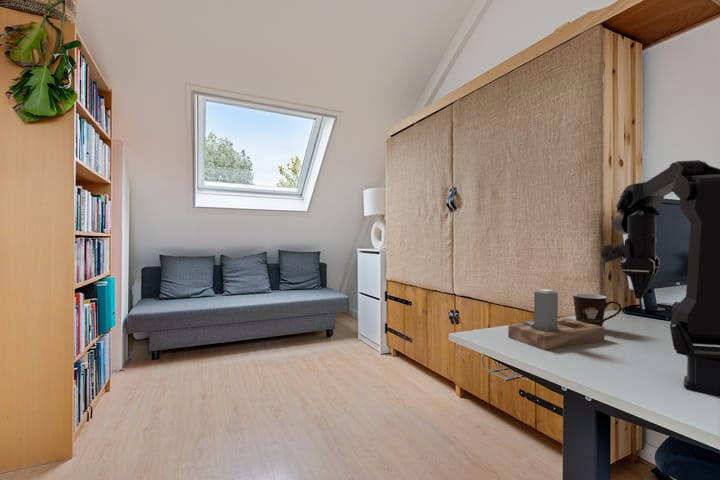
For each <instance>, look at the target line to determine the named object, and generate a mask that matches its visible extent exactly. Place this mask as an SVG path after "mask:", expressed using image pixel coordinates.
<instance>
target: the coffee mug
mask: <svg viewBox="0 0 720 480" xmlns="http://www.w3.org/2000/svg"><path fill="white" fill-rule="evenodd" d="M572 297H573V305H574V314H575V320H576V321H580V322H585V323H589V324H593V325H597V326H601V327H604V326H603V325H604V323H605V322H606V321H608V320H610V319H612V318H614V317H616V316H617V315H618V314H620V313H621V312H622V305H621V304H620V303H619V302H617V301H612V300H611V301H607V298H608V297H607V296H605V295H602V294H595V293H574V294H572ZM611 304H616V305H617V306H618V307H619V309H618V310H617V311H616V312H615V313H614V314H612V315H610V316H609V315H608V316H607V317H605V312H606V309H607V307H608V306H609V305H611ZM604 317H605V318H604Z"/></svg>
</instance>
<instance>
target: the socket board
mask: <svg viewBox="0 0 720 480" xmlns="http://www.w3.org/2000/svg"><path fill="white" fill-rule="evenodd" d="M507 327H508V328H507V330H508V335H507V336H508V337H507V338H509V339H512V340H515V341H517V340H518V341H517V342H521V343H523V344H526V345H528V346H531V347H534V348H535V347H536V348H538V349H540V350H543V351H547V350H554V349H560V348H565V347H569V346H570V347H571V346H577V345H583V344H590V343H595V342H602V341H605V326H602V327H601V326H597V325H593V324H589V323H585V322H580V321H576V319H571V318H568V317H561V318H559V317H558V331H553V332H543V331H540V330H537V329H534V320H525V321H522V322H520V323H514V324H513V323H512V324H508V326H507Z"/></svg>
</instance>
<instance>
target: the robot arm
mask: <svg viewBox="0 0 720 480" xmlns="http://www.w3.org/2000/svg"><path fill="white" fill-rule="evenodd" d="M671 193H673V194H674V195H675V196H676V197H678V198H679V203H680V204H679V205H680V206H679V207H680V208H679V209H680V210H681V212H682V213H683V214H684V215H685V217H686V218H687V220H688V221H689V222H690V223H689V224H690V229H689V240H688V241H689V242H688V243H689V244H688V245H689V246H688V257H687V259H688V260H687V272H686V273H687V275H686V276H687V277H686V291H685V297H684V298H682V300H681V301H675V302H673V304H672V306H671V309H672V310H671V311H672V313H671V319H670V323H669V324H670V325H669V328H670V334H671V339H672V346H673V349H674V351H675V352H676V354H678V355H683V356H686V357H687V358H686V363H687V364H686V375H684V379H683V380H684V381H683V388H685V389H688V390H692V391H696V392H702V393H706V394H711V395H717V396H720V168H718V167H715V166H712V165H709V164H708V163H707V162H705V161H702V160H698V159H697V160H696V159H695V160H678V161H675V162H672V163H671V164H670V165H669V166H668V167H667V168H666V169H665V170H662V171H661V172H660V173H658V174H657V175H655V176H653V177H651V178H650V179H648V180H647V181H644V182H638V183H633V184H629V185H627V186H626V187H625V188H624V189H623V191H622V192H621V195H620V197H619V199H618V202H617V204H616V206H615V207H616V213H619V214H618V215H616V216H615V217H614V218H613V219H612V221H611V228H612V230H613V231H614V232H615V233H617V234H619V235H627V238H625V240H624V244H622V245H618V246H614V245H613V244H608V245H604V246H603V250H601V251H600V256H601V257H602V259H603V262H604V263H609V262H611V261H614V260H616V259H621V258H623V259H622V260H621V261H620V270H622V273H624V274H625V275H626V276H628V277H629V278H630V282H631V285H632V290H633V293H634V295H635V299H638V300H641V299H643V297H644V295H646V294H647V293H648V290H649V288H650V286H651V284H652V283H653V281H654V279H655V276H656V275H657V272H658V271H659V268H660V264H661V258H659V256H657V243H658V240H657V216H660V212H659V211H658V210H657V208H658V207H659V206H660V205H661V204H662V203H663V202H665V196H667V195H669V194H671Z"/></svg>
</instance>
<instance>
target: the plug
mask: <svg viewBox="0 0 720 480" xmlns="http://www.w3.org/2000/svg"><path fill="white" fill-rule="evenodd" d="M533 297H534V298H533V299H534V300H533V301H534V302H533V303H534V305H533V307H534V309H533V310H534V311H533V313H534V315H533V322H534V329H537V330H540V331H543V332H553V331H558V318H559V315H558V313H559V310H558V309H559V303H558V301H559V292H557V291H556V292H555V290H553V289H547V288H541V289H537V291H534V295H533Z"/></svg>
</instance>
